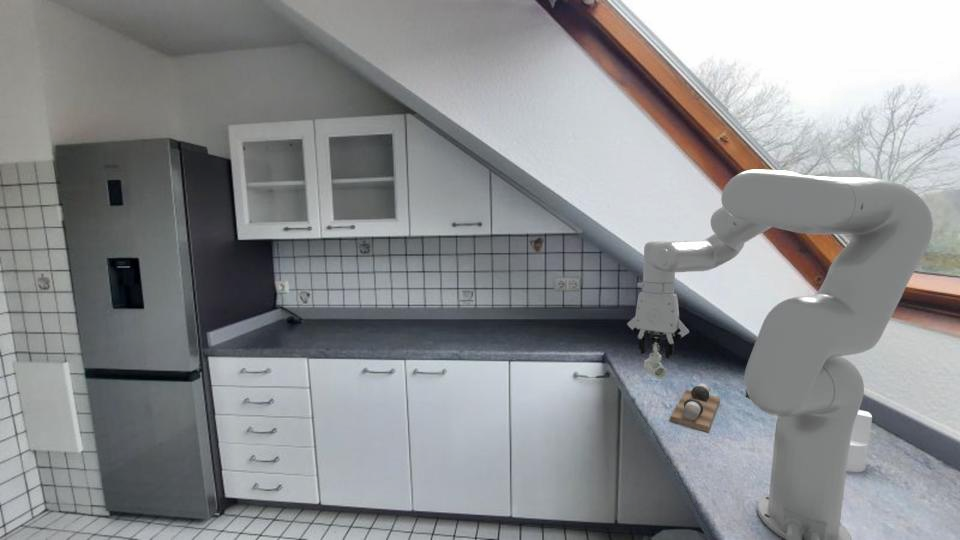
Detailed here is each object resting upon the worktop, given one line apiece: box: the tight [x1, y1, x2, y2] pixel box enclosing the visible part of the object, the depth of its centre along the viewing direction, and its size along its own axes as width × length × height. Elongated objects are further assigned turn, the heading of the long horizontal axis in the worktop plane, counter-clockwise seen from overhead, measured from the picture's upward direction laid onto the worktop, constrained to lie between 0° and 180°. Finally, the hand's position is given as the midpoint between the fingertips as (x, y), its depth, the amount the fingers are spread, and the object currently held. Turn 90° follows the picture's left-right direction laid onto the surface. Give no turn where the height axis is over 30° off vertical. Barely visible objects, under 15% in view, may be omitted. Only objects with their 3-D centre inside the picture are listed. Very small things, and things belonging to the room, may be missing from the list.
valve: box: [643, 331, 668, 380], centre depth 101 cm, size 7×7×12 cm
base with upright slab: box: [846, 409, 873, 473], centre depth 85 cm, size 9×9×12 cm
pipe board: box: [669, 382, 721, 433], centre depth 107 cm, size 21×9×6 cm, turn 141°
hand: (655, 354), depth 101 cm, fingers closed on valve, 5 cm apart
